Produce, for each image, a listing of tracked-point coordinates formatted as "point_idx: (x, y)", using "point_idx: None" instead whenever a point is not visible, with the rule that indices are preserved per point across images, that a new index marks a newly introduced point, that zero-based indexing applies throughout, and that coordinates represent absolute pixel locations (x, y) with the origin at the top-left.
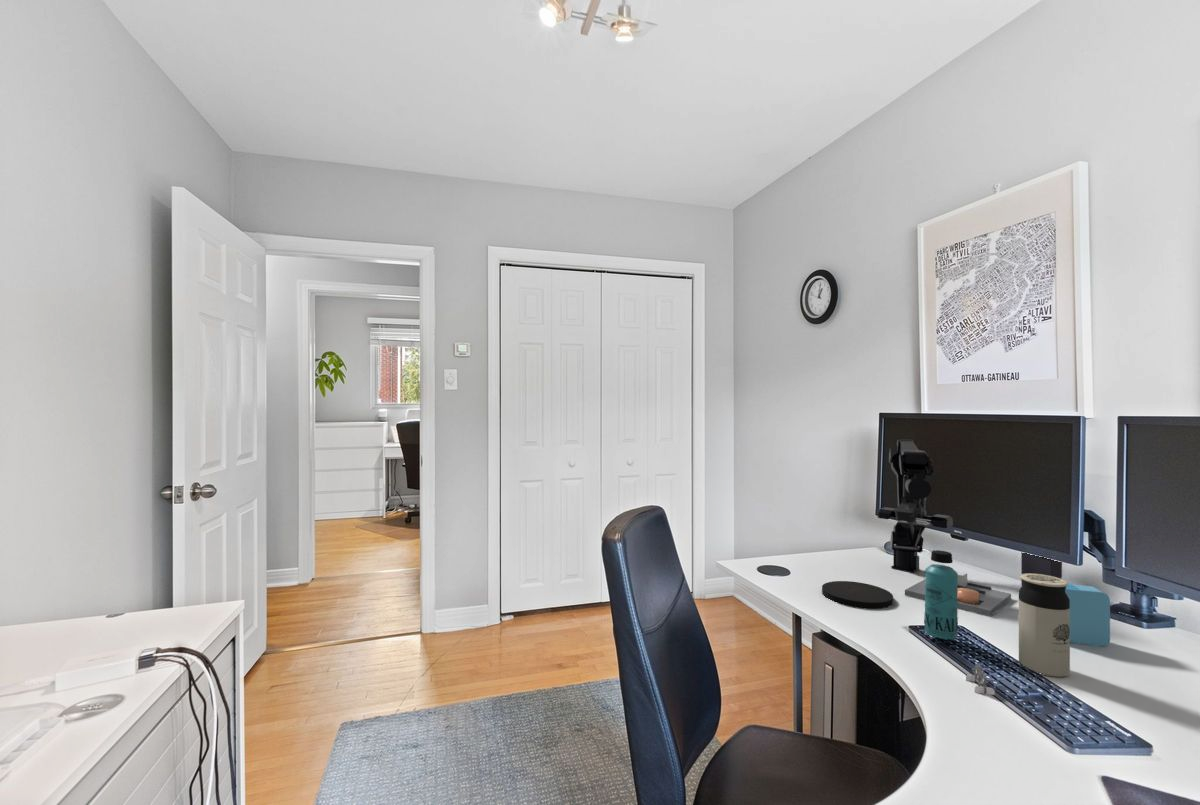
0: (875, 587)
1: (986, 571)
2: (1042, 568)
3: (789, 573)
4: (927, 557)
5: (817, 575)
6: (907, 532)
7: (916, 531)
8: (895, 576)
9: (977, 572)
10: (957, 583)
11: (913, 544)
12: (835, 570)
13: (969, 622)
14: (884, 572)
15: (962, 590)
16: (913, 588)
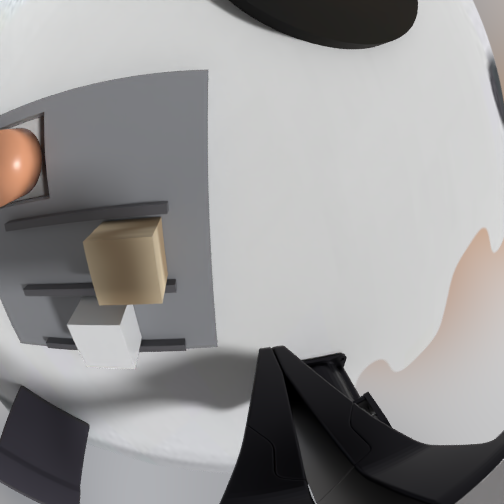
0: (305, 16)
1: (179, 456)
2: (24, 439)
3: (492, 88)
4: None
5: (465, 111)
6: (368, 423)
7: (269, 478)
8: (318, 293)
9: (184, 447)
10: (93, 303)
11: (273, 357)
12: (453, 200)
13: (5, 32)
14: (353, 303)
15: (3, 156)
16: (189, 122)
